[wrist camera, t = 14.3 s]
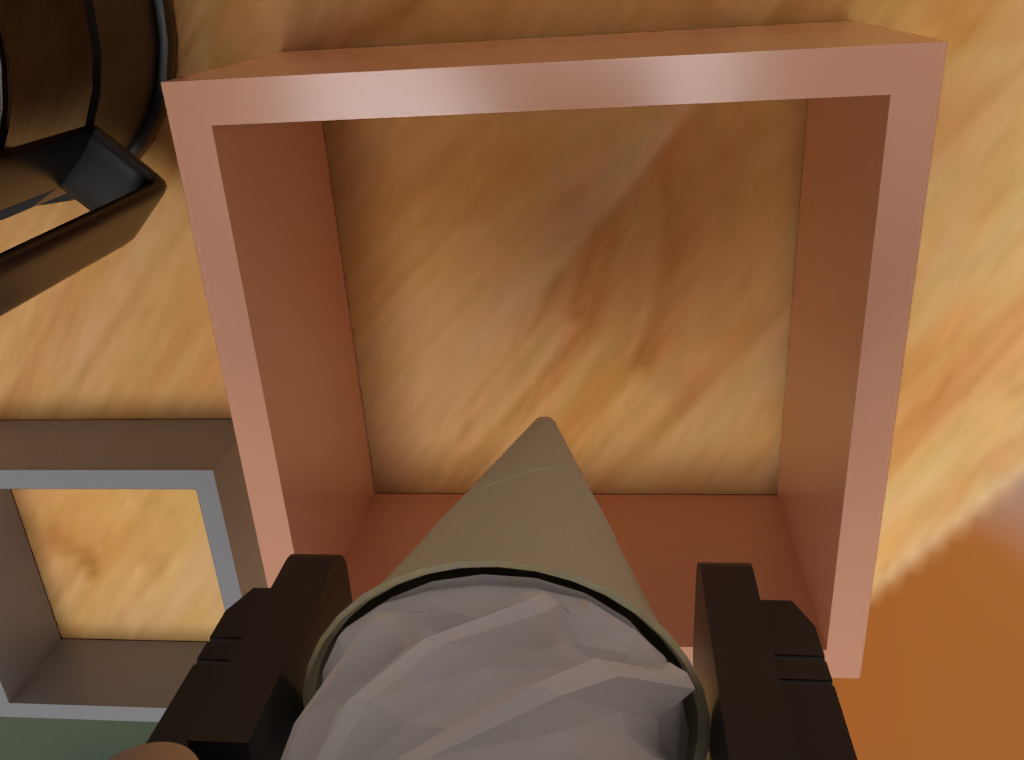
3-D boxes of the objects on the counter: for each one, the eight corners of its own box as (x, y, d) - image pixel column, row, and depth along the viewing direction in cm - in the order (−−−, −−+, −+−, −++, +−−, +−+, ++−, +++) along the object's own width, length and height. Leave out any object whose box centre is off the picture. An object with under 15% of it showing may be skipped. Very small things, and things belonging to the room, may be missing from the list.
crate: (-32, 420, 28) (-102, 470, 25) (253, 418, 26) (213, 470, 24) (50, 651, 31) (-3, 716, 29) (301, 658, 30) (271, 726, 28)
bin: (280, 51, 22) (160, 82, 16) (849, 20, 20) (947, 41, 15) (353, 515, 28) (283, 663, 22) (802, 518, 26) (859, 678, 20)
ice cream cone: (722, 417, 18) (1101, 1874, 4) (558, 569, 20) (449, 1904, 6) (529, 258, 17) (195, 1478, 3) (376, 435, 19) (-243, 1667, 5)
